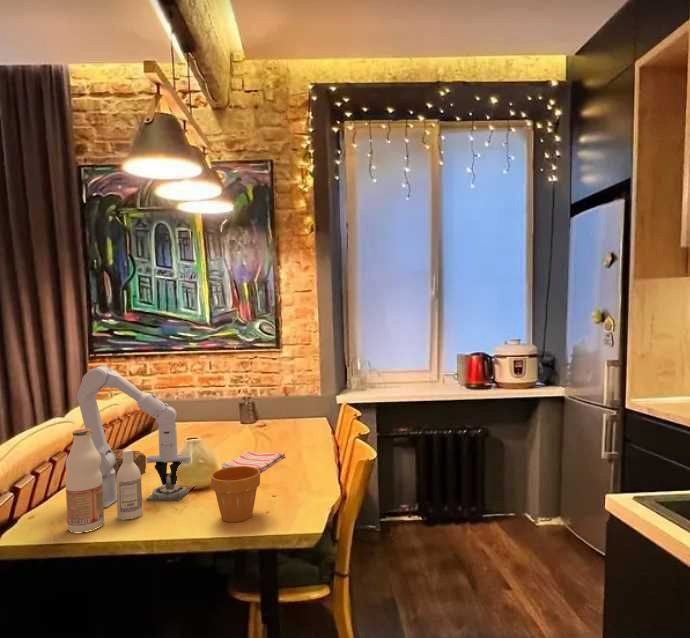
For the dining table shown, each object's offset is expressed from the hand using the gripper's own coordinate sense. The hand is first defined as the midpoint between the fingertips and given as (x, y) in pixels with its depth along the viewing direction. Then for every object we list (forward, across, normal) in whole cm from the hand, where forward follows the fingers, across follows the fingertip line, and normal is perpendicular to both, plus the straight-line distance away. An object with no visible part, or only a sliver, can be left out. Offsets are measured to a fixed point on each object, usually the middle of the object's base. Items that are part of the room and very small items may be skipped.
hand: (169, 484), depth 173 cm
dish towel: (+4, -19, -36) cm, 41 cm away
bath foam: (+4, +4, +18) cm, 19 cm away
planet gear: (+3, 0, 0) cm, 3 cm away
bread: (+4, +30, -21) cm, 36 cm away
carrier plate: (+4, 0, -2) cm, 4 cm away
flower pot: (+4, -28, +18) cm, 34 cm away
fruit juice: (+4, +14, +26) cm, 30 cm away
